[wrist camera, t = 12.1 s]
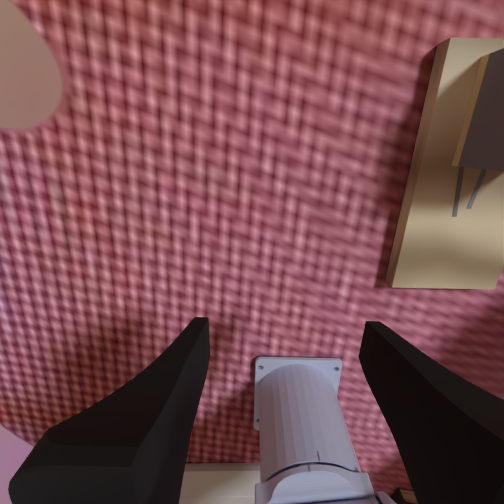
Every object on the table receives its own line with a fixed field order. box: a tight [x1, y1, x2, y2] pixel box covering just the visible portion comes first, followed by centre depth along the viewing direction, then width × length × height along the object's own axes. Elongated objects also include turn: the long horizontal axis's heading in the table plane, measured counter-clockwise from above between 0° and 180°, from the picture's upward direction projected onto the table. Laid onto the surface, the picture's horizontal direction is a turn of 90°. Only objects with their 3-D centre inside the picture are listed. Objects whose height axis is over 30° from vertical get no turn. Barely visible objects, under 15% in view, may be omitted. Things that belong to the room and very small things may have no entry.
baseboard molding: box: [179, 463, 260, 504], centre depth 33 cm, size 31×3×12 cm
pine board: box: [385, 38, 504, 289], centre depth 19 cm, size 16×8×1 cm, turn 179°
